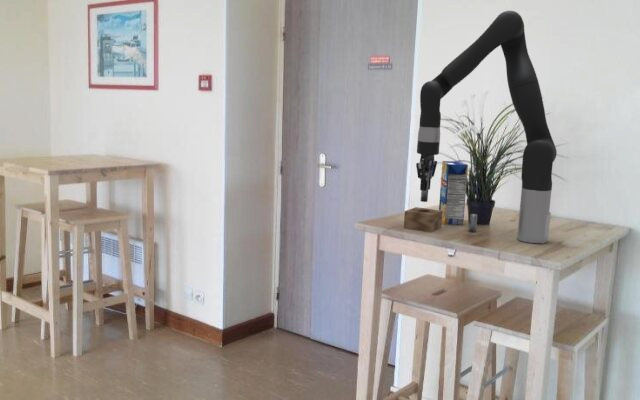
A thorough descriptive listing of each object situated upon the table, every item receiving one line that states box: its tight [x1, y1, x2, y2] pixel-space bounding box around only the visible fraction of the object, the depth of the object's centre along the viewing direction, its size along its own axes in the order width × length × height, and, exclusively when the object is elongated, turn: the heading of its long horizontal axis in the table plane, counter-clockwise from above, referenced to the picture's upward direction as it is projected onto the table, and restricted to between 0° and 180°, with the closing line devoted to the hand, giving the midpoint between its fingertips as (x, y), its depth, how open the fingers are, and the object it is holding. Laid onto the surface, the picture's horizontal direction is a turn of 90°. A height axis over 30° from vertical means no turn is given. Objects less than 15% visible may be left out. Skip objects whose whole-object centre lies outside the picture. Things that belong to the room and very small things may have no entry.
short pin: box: [468, 213, 478, 233], centre depth 214 cm, size 2×2×6 cm
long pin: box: [420, 170, 430, 203], centre depth 215 cm, size 2×2×11 cm
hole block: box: [403, 206, 443, 233], centre depth 217 cm, size 10×10×6 cm
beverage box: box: [438, 160, 469, 226], centre depth 228 cm, size 7×11×22 cm, turn 1°
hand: (425, 189), depth 216 cm, fingers closed on long pin, 2 cm apart
